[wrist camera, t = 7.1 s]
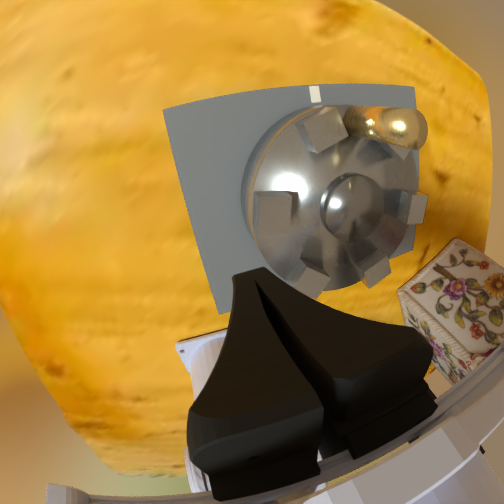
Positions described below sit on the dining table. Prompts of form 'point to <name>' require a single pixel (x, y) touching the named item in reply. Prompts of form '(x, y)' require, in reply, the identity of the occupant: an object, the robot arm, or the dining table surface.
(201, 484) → the robot arm
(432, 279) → the decorative jar
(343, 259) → the notched steel disc
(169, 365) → the dining table surface
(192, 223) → the base plate
